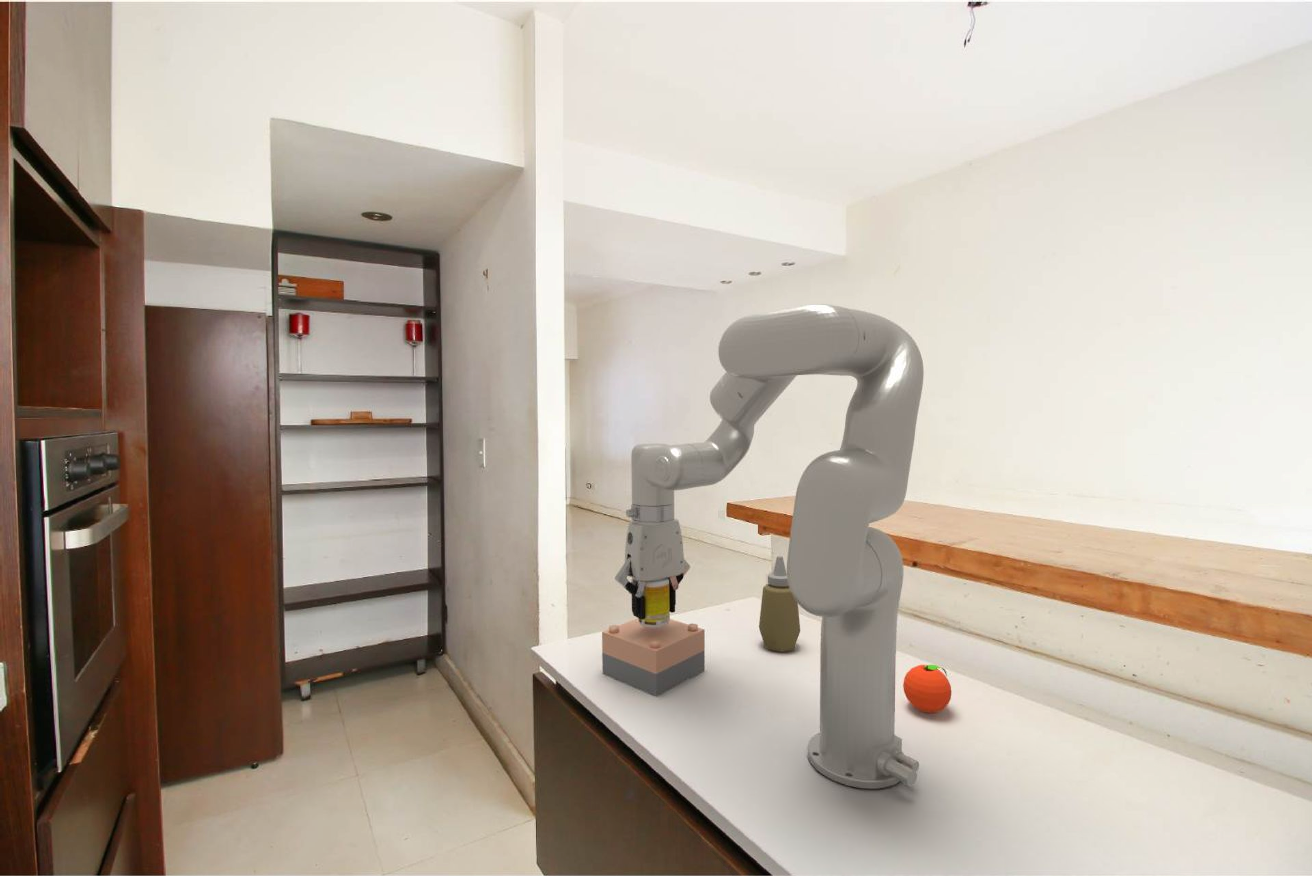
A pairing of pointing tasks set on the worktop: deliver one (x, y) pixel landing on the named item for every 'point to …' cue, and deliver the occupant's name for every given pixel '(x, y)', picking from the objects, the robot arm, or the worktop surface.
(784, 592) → the squeeze bottle
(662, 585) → the supplement bottle
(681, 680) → the pink and grey block
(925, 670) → the clementine
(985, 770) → the worktop surface
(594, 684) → the worktop surface
